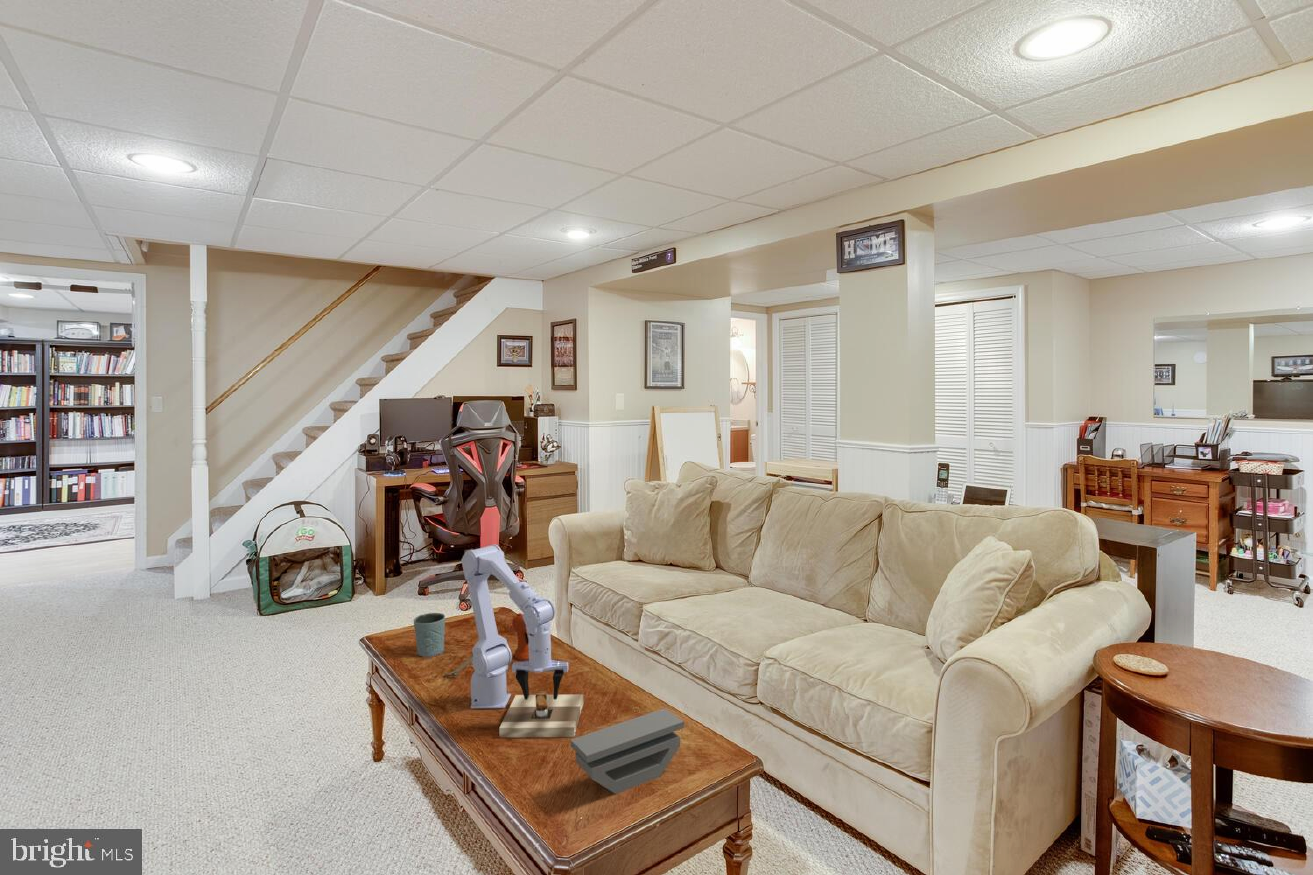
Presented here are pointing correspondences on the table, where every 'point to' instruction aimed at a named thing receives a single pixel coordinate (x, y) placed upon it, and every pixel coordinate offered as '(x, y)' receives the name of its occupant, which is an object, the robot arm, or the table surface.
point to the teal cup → (429, 634)
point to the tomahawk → (459, 668)
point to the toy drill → (521, 638)
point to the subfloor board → (526, 725)
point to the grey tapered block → (629, 750)
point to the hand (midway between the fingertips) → (541, 697)
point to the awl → (541, 705)
